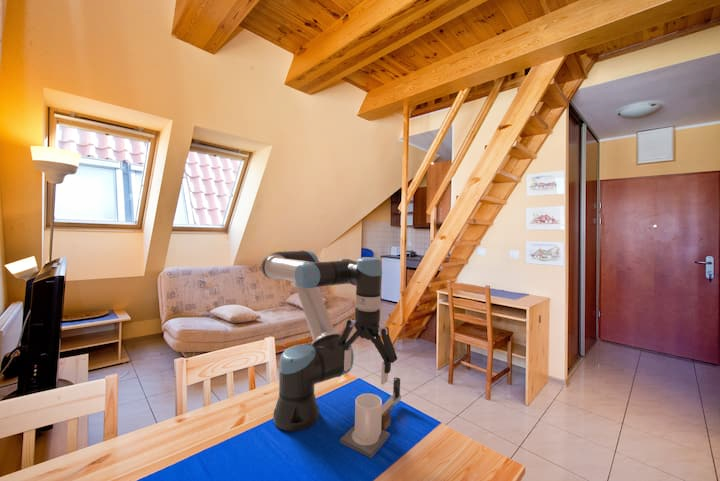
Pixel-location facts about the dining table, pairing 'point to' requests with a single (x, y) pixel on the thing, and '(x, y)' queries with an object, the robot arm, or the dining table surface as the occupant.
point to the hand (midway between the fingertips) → (365, 375)
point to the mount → (385, 420)
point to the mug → (368, 416)
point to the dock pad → (364, 442)
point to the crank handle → (393, 396)
